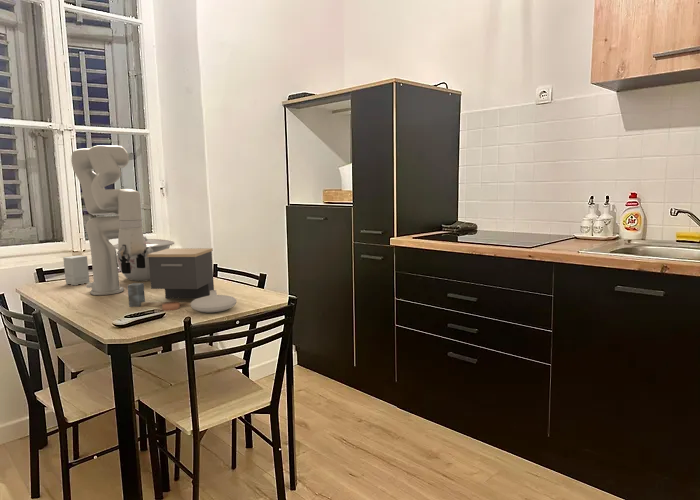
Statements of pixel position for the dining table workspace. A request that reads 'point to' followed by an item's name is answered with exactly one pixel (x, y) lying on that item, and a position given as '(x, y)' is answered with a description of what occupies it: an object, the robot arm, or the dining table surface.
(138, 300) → the grey block with handle
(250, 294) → the dining table surface
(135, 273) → the chamber pot
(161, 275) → the cabinet
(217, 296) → the grey domed lid
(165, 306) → the coaster
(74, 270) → the supplement box
